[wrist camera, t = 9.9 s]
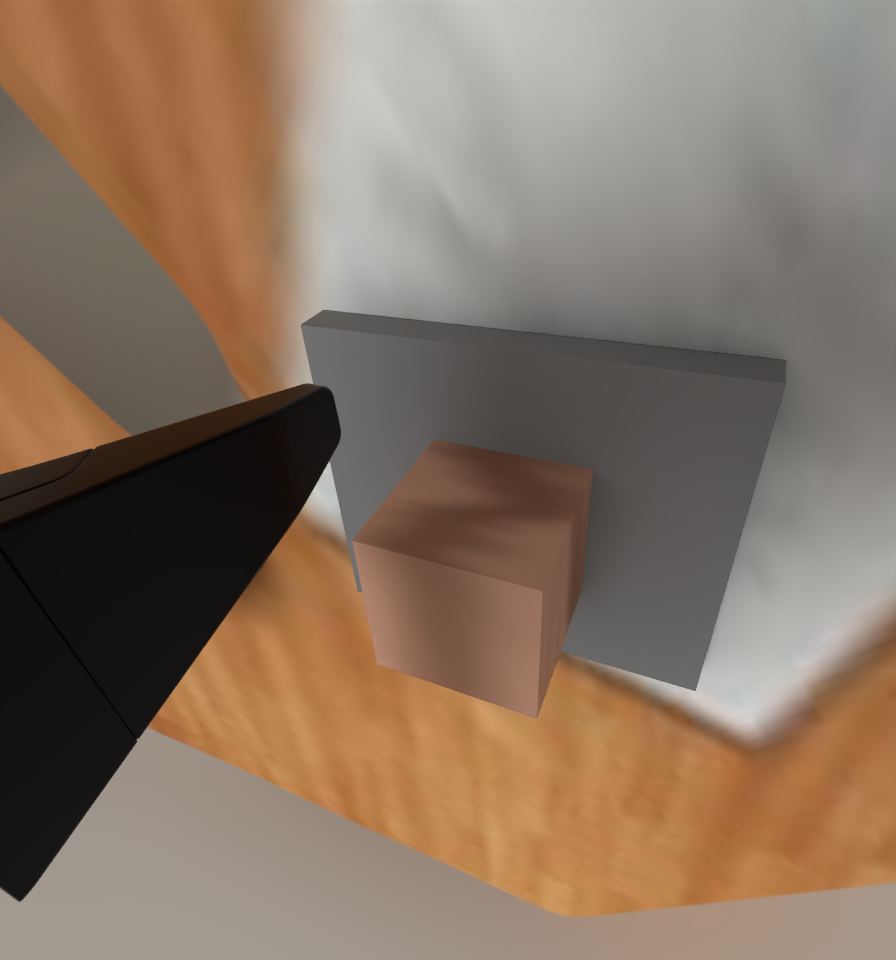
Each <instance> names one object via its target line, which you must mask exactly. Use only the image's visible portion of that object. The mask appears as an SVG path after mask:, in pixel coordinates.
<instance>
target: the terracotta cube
mask: <svg viewBox="0 0 896 960" xmlns="http://www.w3.org/2000/svg"><path fill="white" fill-rule="evenodd" d="M592 478H593V469H590V468H584V467H579V466H574V465H568V464H563V463H557V462H552V461H547V460H541V459H536V458H531V457H525V456H520V455H515V454H509V453H504V452H499V451H493V450H488V449H483V448H477V447H472V446H467V445H461V444H456V443H450V442H445V441H440V440H433V441H432V442H431V444H430V445H429V446H428V447H427V448H426V450H425V451H424V452H423V453H422V455H421V456H420V457H419V458H418V460H417V461H416V462H415V463H414V465H413V466H412V467H411V468H410V469H409V471H408V472H407V473H406V474H405V476H404V477H403V478H402V479H401V481H400V482H399V483H398V484H397V486H396V487H395V488H394V489H393V490H392V492H391V493H390V494H389V495H388V497H387V498H386V499H385V500H384V502H383V503H382V504H381V505H380V507H379V508H378V509H377V510H376V511H375V513H374V514H373V515H372V516H371V518H370V519H369V520H368V521H367V523H366V524H365V525H364V526H363V528H362V529H361V530H360V531H359V532H358V534H357V535H356V536H355V537H354V539H353V540H352V543H353V548H354V553H355V558H356V563H357V568H358V573H359V578H360V582H361V587H362V592H363V597H364V602H365V607H366V612H367V617H368V622H369V626H370V631H371V636H372V641H373V646H374V651H375V656H376V661H377V664H379V665H382V666H385V667H388V668H391V669H394V670H396V671H399V672H402V673H405V674H408V675H411V676H414V677H417V678H420V679H423V680H426V681H429V682H431V683H434V684H437V685H440V686H443V687H446V688H449V689H452V690H455V691H458V692H461V693H464V694H466V695H469V696H472V697H475V698H478V699H481V700H484V701H487V702H490V703H493V704H496V705H499V706H501V707H504V708H507V709H510V710H513V711H516V712H519V713H522V714H525V715H528V716H531V717H534V718H536V719H537V717H538V714H539V711H540V709H541V706H542V703H543V700H544V697H545V694H546V691H547V688H548V686H549V683H550V680H551V677H552V674H553V671H554V668H555V666H556V663H557V660H558V657H559V654H560V651H561V648H562V645H563V643H564V640H565V637H566V634H567V631H568V628H569V625H570V622H571V620H572V617H573V614H574V611H575V608H576V605H577V602H578V599H579V597H580V594H581V589H582V579H583V569H584V559H585V548H586V538H587V528H588V518H589V508H590V498H591V488H592Z"/></svg>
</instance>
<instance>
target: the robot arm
mask: <svg viewBox="0 0 896 960" xmlns="http://www.w3.org/2000/svg"><path fill="white" fill-rule="evenodd" d="M340 438H341V427H340V422H339V418H338V413H337V409H336V404H335V399H334V395H333V393H332V391H331V390H330V389H329V388H328V387H326V386H321V385H315V384H302V385H299V386H296V387H292V388H289V389H286V390H282V391H279V392H276V393H272V394H269V395H266V396H263V397H259V398H256V399H253V400H249V401H246V402H243V403H240V404H236V405H233V406H230V407H226V408H223V409H220V410H216V411H213V412H210V413H206V414H203V415H200V416H197V417H194V418H190V419H187V420H183V421H180V422H177V423H173V424H171V425H167V426H164V427H160V428H157V429H154V430H150V431H147V432H144V433H140V434H137V435H134V436H131V437H127V438H124V439H121V440H117V441H114V442H111V443H107V444H104V445H101V446H98V447H96V448H95V449H87V450H84V451H81V452H77V453H74V454H71V455H68V456H64V457H61V458H57V459H54V460H50V461H47V462H43V463H40V464H37V465H33V466H30V467H26V468H22V469H19V470H15V471H11V472H7V473H4V474H0V889H1V890H3V891H4V892H6V893H7V894H9V895H10V896H12V897H13V898H14V899H16V900H17V901H19V902H20V901H22V900H23V899H24V898H25V896H26V895H27V894H28V893H29V892H30V891H31V889H32V888H33V887H34V886H35V884H36V883H37V882H38V880H39V879H40V878H41V876H42V875H43V873H44V872H45V870H46V869H47V868H48V866H49V865H50V863H51V862H52V861H53V859H54V858H55V856H56V855H57V853H58V852H59V851H60V849H61V848H62V846H63V845H64V844H65V842H66V841H67V840H68V838H69V837H70V835H71V834H72V833H73V831H74V830H75V828H76V827H77V825H78V824H79V823H80V821H81V820H82V819H83V817H84V816H85V814H86V813H87V811H88V810H89V809H90V807H91V806H92V804H93V803H94V802H95V800H96V799H97V797H98V796H99V795H100V793H101V792H102V790H103V789H104V788H105V786H106V785H107V783H108V782H109V780H110V779H111V778H112V776H113V775H114V774H115V772H116V771H117V769H118V768H119V766H120V765H121V764H122V762H123V761H124V760H125V758H126V757H127V755H128V754H129V752H130V751H131V750H132V748H133V747H134V746H135V744H136V743H137V739H138V738H140V736H141V735H142V734H143V732H144V731H145V729H146V728H147V727H148V725H149V724H150V722H151V721H152V720H153V718H154V717H155V715H156V714H157V713H158V711H159V710H160V708H161V707H162V706H163V704H164V703H165V701H166V700H167V699H168V697H169V696H170V694H171V693H172V692H173V690H174V689H175V687H176V686H177V685H178V683H179V682H180V680H181V679H182V678H183V676H184V675H185V673H186V672H187V670H188V669H189V668H190V666H191V665H192V663H193V662H194V661H195V659H196V658H197V656H198V655H199V654H200V652H201V651H202V649H203V648H204V647H205V645H206V644H207V642H208V641H209V640H210V638H211V637H212V635H213V634H214V633H215V631H216V630H217V628H218V627H219V626H220V624H221V623H222V621H223V620H224V619H225V617H226V616H227V614H228V613H229V612H230V610H231V609H232V607H233V606H234V605H235V603H236V602H237V600H238V599H239V598H240V596H241V595H242V593H243V592H244V591H245V589H246V588H247V586H248V585H249V584H250V582H251V581H252V579H253V578H254V577H255V575H256V574H257V572H258V571H259V570H260V568H261V567H262V565H263V564H264V563H265V561H266V560H267V558H268V557H269V555H270V554H271V553H272V551H273V550H274V548H275V547H276V546H277V544H278V543H279V541H280V540H281V539H282V537H283V536H284V534H285V533H286V532H287V530H288V529H289V527H290V526H291V525H292V523H293V522H294V520H295V519H296V517H297V516H298V514H299V513H300V511H301V510H302V508H303V506H304V505H305V503H306V501H307V499H308V498H309V496H310V494H311V492H312V491H313V489H314V487H315V485H316V483H317V482H318V480H319V478H320V476H321V475H322V473H323V471H324V469H325V468H326V466H327V464H328V462H329V460H330V459H331V457H332V455H333V453H334V452H335V450H336V448H337V446H338V444H339V442H340Z"/></svg>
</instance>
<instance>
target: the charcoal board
mask: <svg viewBox="0 0 896 960" xmlns="http://www.w3.org/2000/svg"><path fill="white" fill-rule="evenodd" d="M301 328H302V333H303V338H304V342H305V347H306V352H307V356H308V361H309V366H310V370H311V375H312V379H313V384H315V385H321V386H326V387H328V388H329V389H330V390H331V391H332V393H333V395H334V399H335V404H336V409H337V413H338V418H339V422H340V427H341V438H340V442H339V444H338V446H337V448H336V450H335V452H334V453H333V455H332V457H331V459H330V463H331V468H332V473H333V477H334V482H335V487H336V491H337V496H338V501H339V505H340V510H341V515H342V519H343V524H344V529H345V533H346V538H347V543H348V547H349V552H350V557H351V561H352V566H353V571H354V575H355V580H356V585H357V589H358V591H359V592H362V587H361V582H360V578H359V573H358V568H357V563H356V558H355V553H354V548H353V543H352V540H353V539H354V537H355V536H356V535H357V534H358V532H359V531H360V530H361V529H362V528H363V526H364V525H365V524H366V523H367V521H368V520H369V519H370V518H371V516H372V515H373V514H374V513H375V511H376V510H377V509H378V508H379V507H380V505H381V504H382V503H383V502H384V500H385V499H386V498H387V497H388V495H389V494H390V493H391V492H392V490H393V489H394V488H395V487H396V486H397V484H398V483H399V482H400V481H401V479H402V478H403V477H404V476H405V474H406V473H407V472H408V471H409V469H410V468H411V467H412V466H413V465H414V463H415V462H416V461H417V460H418V458H419V457H420V456H421V455H422V453H423V452H424V451H425V450H426V448H427V447H428V446H429V445H430V444H431V442H432V441H433V440H440V441H445V442H450V443H456V444H461V445H467V446H472V447H477V448H483V449H488V450H493V451H499V452H504V453H509V454H515V455H520V456H525V457H531V458H536V459H541V460H547V461H552V462H557V463H563V464H568V465H574V466H579V467H584V468H590V469H593V478H592V488H591V498H590V508H589V518H588V528H587V538H586V548H585V559H584V569H583V579H582V589H581V594H580V597H579V599H578V602H577V605H576V608H575V611H574V614H573V617H572V620H571V622H570V625H569V628H568V631H567V634H566V637H565V640H564V643H563V645H562V648H561V651H562V652H565V653H569V654H572V655H575V656H579V657H582V658H586V659H589V660H592V661H596V662H599V663H602V664H606V665H609V666H613V667H616V668H619V669H623V670H626V671H630V672H633V673H636V674H640V675H643V676H646V677H650V678H653V679H657V680H660V681H663V682H667V683H670V684H673V685H677V686H680V687H684V688H687V689H690V690H694V691H696V687H697V684H698V681H699V677H700V674H701V670H702V667H703V664H704V660H705V657H706V653H707V650H708V646H709V643H710V640H711V636H712V633H713V629H714V626H715V622H716V619H717V616H718V612H719V609H720V605H721V602H722V599H723V595H724V592H725V588H726V585H727V581H728V578H729V575H730V571H731V568H732V564H733V561H734V558H735V554H736V551H737V547H738V544H739V540H740V537H741V534H742V530H743V527H744V523H745V520H746V517H747V513H748V510H749V506H750V503H751V499H752V496H753V493H754V489H755V486H756V482H757V479H758V475H759V472H760V469H761V465H762V462H763V458H764V455H765V452H766V448H767V445H768V441H769V438H770V434H771V431H772V428H773V424H774V421H775V417H776V414H777V411H778V407H779V404H780V400H781V397H782V393H783V390H784V387H785V360H777V359H768V358H759V357H750V356H740V355H731V354H722V353H713V352H704V351H694V350H685V349H676V348H667V347H658V346H648V345H639V344H630V343H621V342H612V341H603V340H593V339H584V338H575V337H566V336H557V335H547V334H538V333H529V332H520V331H511V330H501V329H492V328H483V327H474V326H465V325H455V324H446V323H437V322H428V321H419V320H409V319H400V318H391V317H382V316H373V315H363V314H354V313H345V312H336V311H327V310H323V311H321V312H320V313H318V314H317V315H315V316H314V317H312V318H311V319H309V320H307V321H306V322H304V323H303V324H301Z"/></svg>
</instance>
